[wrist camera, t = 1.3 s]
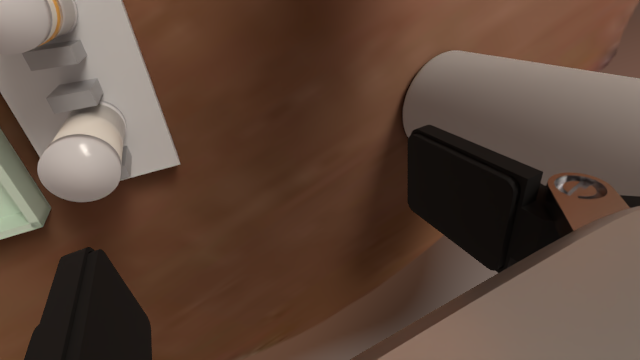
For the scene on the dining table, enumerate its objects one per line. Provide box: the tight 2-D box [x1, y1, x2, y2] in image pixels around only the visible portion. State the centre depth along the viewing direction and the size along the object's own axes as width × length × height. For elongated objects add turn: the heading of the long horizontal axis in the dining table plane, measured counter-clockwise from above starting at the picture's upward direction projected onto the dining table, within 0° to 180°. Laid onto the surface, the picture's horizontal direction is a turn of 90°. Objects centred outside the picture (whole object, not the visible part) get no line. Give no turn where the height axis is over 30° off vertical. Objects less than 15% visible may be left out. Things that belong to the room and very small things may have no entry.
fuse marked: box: [0, 0, 78, 55], centre depth 17 cm, size 4×4×9 cm
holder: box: [0, 0, 180, 181], centre depth 20 cm, size 26×9×6 cm, turn 8°
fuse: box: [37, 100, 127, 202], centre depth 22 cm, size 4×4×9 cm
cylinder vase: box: [403, 51, 640, 196], centre depth 32 cm, size 12×12×25 cm
